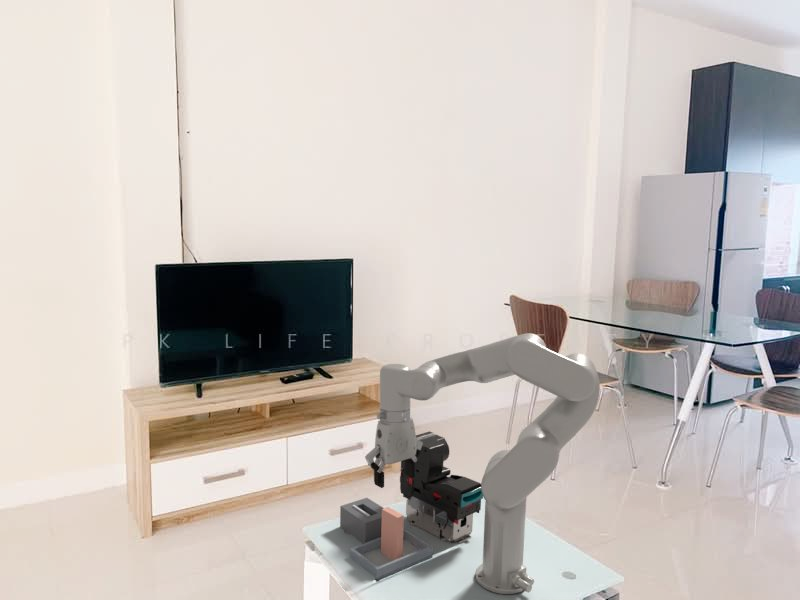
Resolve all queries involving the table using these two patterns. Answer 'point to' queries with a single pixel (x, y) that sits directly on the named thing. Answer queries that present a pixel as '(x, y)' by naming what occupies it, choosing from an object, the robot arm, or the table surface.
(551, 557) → the table surface
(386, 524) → the salmon pink rectangular block
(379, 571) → the tray
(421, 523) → the bill acceptor
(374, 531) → the dispenser
